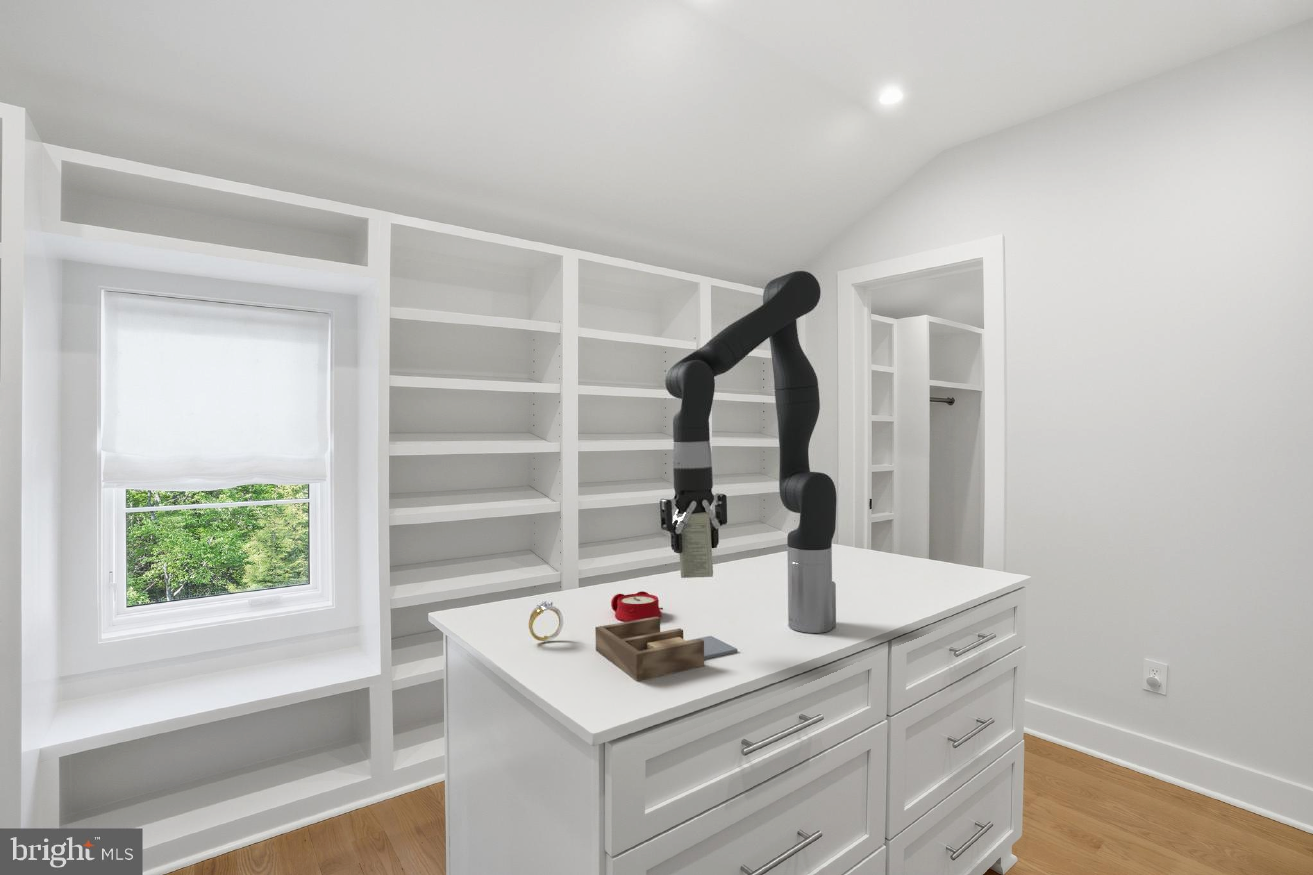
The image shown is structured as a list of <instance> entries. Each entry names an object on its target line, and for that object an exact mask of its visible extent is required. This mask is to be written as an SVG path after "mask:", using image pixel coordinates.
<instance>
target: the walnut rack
mask: <svg viewBox="0 0 1313 875" xmlns="http://www.w3.org/2000/svg"><path fill="white" fill-rule="evenodd" d="M676 637H680V638H682V639H684V629H682V628H675V629H670V630H663V631H661V617H660V618H659V617H652V618H646V619H640V620H634V621H628V622H626V621H621V622H618V623H617V622H616V623H612V624H611V623H610V624H607V625H599V626H595V651H596V652H597V653H599V654H600V655H601V656H603V657H604V658H605V659H607V660H608V661H609V662H610V663H612V664H613V665H615V667H617V668H618V669H620V670H621V671H622V672H623V673H625V674H626V675H628V676H629V677H630V678H631V679H633V680H635V681H636V682H641V681H643V680H648V679H652V678H656V677H661V676H664V675H669V674H674V673H679V672H683V671H688V670H691V669H695V668H701V667H705V659H704V640H702V639H697V638H696V639H697V640H692V639H691V640H692V641H687V640H686V641H687V642H682V643H677V644H672V645H667V646H662V647H657V648H652V649H647V643H650V642H655V641H660V640H665V639H671V638H676Z"/></svg>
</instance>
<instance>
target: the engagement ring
mask: <svg viewBox="0 0 1313 875" xmlns="http://www.w3.org/2000/svg"><path fill="white" fill-rule="evenodd" d="M548 610H549V611H552V612H554V614H556V615H557V618H558V627H557V629H556V631H555V632H554V633H552V634H551V635H549V636H548V635H544V636H539V635H537V634H536V633H535V630H534V627H533V625H534V622H535V621H536V619H537V618H538V617H539V616H540V615H542V614H543V613H544V611H548ZM527 625H528V629H529V630H528V631H529V633H530V635H531V636H532V637H533V638H534V639H535V640H537V641H539V642H543V643H544V642H545V643H548V642H549V641H552V640H554V639H555V638H557V637H558V636H559V635H560V634H561V632H562V629H563V628H564V627H563V626H564V616H563V614H562V611H561V610H560V609H559V608H558V607H556V606H553V601H551V602H547V601H542V602H541V603H540V604H536V607H535V608H534V609H533V610H532V611H531V613H530V615H529V618H528V624H527Z"/></svg>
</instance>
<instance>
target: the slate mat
mask: <svg viewBox="0 0 1313 875" xmlns="http://www.w3.org/2000/svg"><path fill="white" fill-rule="evenodd" d="M697 639H702V640H704V660H708V659H712V658H716V657H721V656H725V655H726V656H727V655H730V654H735V653H738V648H737V647H734V646H733V645H730V644H728V643H726V642H725V641H722V640H721V639H718V638H716V637H714V636H712V635H709V636H703V637H698V638H693V639H688V640H686V641H692V640H697Z"/></svg>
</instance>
